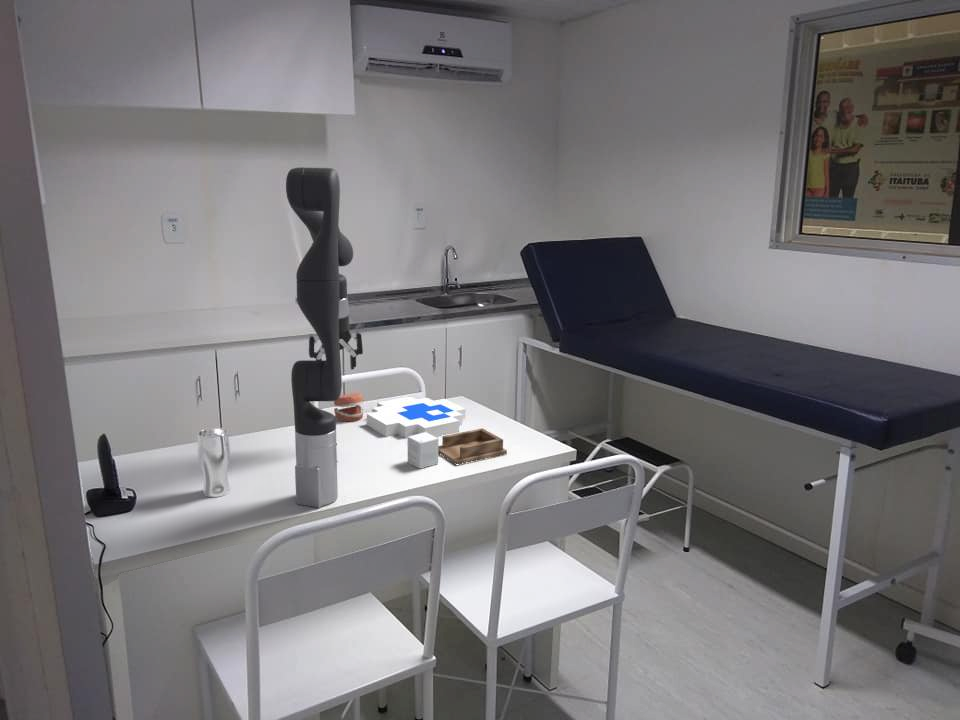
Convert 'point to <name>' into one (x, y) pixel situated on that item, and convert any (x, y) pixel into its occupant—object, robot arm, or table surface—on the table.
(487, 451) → the U-rest
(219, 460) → the beer glass
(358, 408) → the dentures
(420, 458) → the product box
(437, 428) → the pixel art tile
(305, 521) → the table surface
